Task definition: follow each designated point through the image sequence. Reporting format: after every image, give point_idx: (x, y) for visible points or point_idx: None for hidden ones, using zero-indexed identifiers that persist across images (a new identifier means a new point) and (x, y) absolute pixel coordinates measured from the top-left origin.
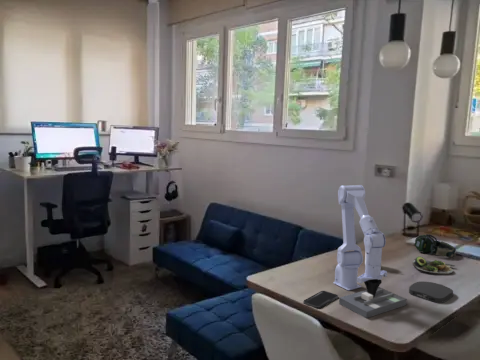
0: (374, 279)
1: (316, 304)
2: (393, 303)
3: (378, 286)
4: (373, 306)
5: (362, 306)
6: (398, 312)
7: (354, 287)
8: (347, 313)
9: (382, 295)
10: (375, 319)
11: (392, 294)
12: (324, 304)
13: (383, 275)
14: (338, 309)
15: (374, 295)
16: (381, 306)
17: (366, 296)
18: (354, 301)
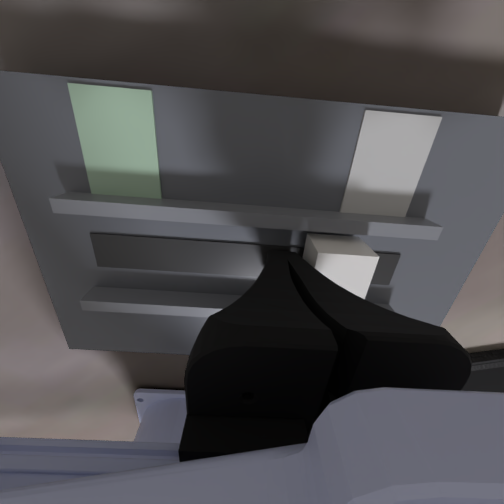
0: (303, 434)
1: (500, 375)
2: (181, 88)
3: (251, 293)
4: (407, 155)
5: (460, 213)
6: (200, 18)
7: (183, 398)
8: (491, 245)
9: (151, 250)
10: (474, 60)
11: (70, 197)
12: (478, 360)
13: (17, 490)
14: (468, 300)
15: (279, 255)
16: (347, 111)
17: (368, 275)
18: (411, 294)
